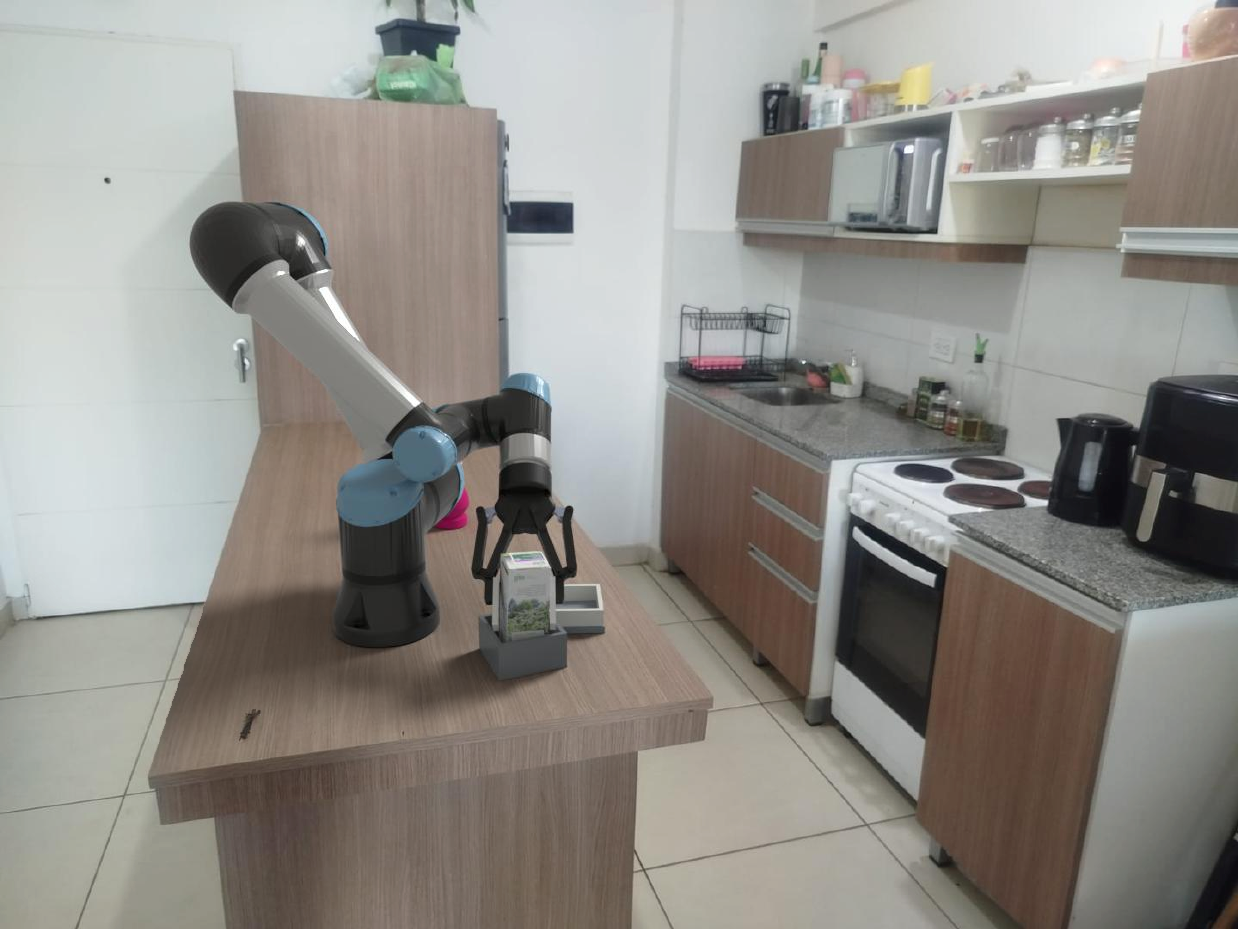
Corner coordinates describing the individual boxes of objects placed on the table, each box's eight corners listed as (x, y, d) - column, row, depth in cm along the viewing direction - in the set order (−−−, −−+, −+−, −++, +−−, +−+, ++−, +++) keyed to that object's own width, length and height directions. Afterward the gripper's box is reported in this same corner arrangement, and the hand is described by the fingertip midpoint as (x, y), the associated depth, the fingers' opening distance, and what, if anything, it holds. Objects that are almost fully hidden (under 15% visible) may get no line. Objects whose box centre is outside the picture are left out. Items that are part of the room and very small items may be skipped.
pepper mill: (461, 532, 163) (458, 429, 158) (425, 528, 164) (421, 426, 159) (475, 519, 170) (472, 420, 164) (440, 516, 171) (437, 418, 166)
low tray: (604, 632, 125) (605, 610, 124) (538, 634, 124) (538, 611, 123) (600, 604, 134) (600, 583, 133) (538, 605, 134) (538, 584, 133)
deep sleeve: (499, 680, 112) (498, 646, 110) (479, 648, 120) (478, 615, 119) (566, 666, 116) (567, 633, 114) (542, 636, 124) (542, 604, 122)
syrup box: (537, 644, 121) (541, 548, 117) (547, 665, 116) (551, 564, 112) (497, 648, 120) (499, 551, 116) (505, 669, 114) (508, 567, 110)
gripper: (592, 483, 128) (598, 634, 117) (458, 484, 126) (450, 637, 115) (595, 459, 121) (601, 616, 110) (453, 459, 119) (444, 619, 108)
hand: (524, 627), depth 113 cm, fingers closed on syrup box, 7 cm apart
